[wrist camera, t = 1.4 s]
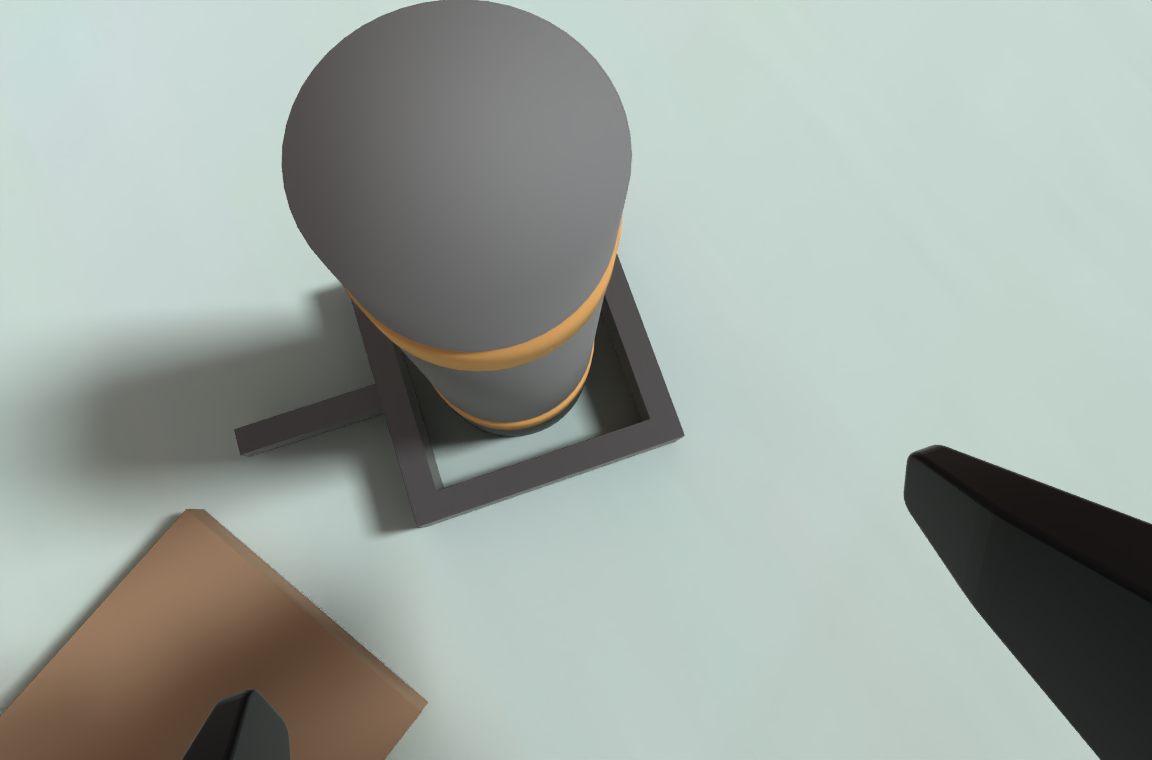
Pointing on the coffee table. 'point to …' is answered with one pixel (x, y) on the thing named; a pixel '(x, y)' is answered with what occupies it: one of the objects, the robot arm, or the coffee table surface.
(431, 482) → the collar
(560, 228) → the orange-banded grey cylinder
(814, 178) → the coffee table surface
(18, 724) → the walnut pad
